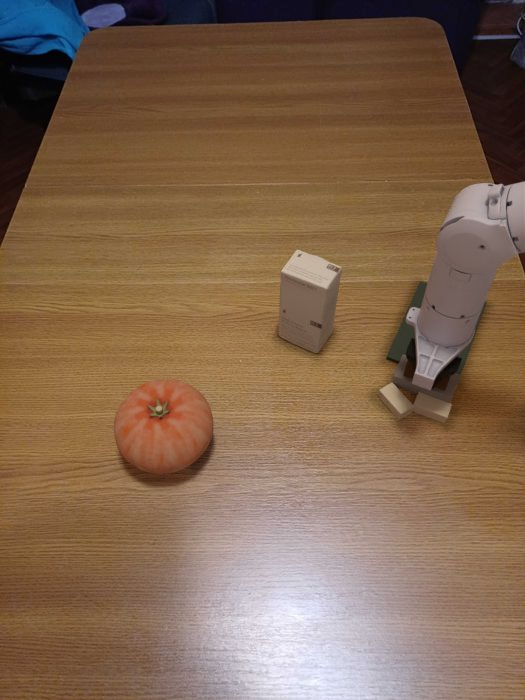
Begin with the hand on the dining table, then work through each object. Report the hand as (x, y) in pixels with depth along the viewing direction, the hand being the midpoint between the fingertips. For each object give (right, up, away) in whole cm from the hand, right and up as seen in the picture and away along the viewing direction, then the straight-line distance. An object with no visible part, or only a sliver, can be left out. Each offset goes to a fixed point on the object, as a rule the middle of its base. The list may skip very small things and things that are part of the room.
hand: (428, 374), depth 72 cm
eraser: (0, -1, +2) cm, 2 cm away
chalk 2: (0, -4, 0) cm, 4 cm away
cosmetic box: (-14, +5, +8) cm, 16 cm away
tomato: (-30, -8, -1) cm, 31 cm away
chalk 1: (-4, -4, +1) cm, 5 cm away
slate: (+3, +5, +7) cm, 10 cm away
